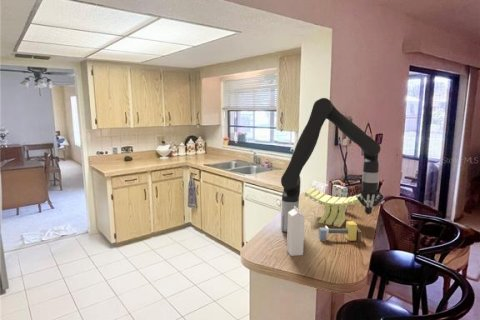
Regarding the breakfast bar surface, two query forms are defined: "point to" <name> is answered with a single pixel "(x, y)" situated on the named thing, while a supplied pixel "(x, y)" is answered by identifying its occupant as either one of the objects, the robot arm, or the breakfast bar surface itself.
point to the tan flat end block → (358, 235)
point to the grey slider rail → (339, 231)
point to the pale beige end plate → (327, 230)
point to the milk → (295, 232)
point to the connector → (322, 234)
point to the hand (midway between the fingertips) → (368, 213)
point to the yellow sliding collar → (351, 230)
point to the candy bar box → (340, 192)
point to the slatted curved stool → (332, 206)
